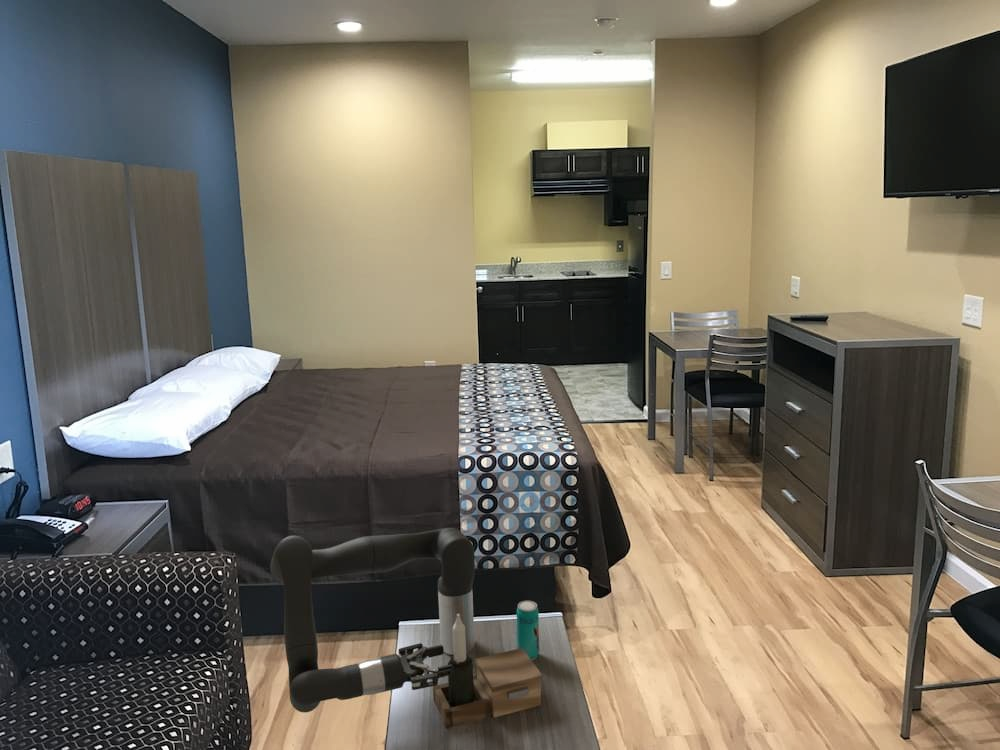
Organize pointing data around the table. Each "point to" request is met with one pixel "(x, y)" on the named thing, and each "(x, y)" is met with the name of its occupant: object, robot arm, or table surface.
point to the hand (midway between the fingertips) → (448, 658)
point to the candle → (460, 669)
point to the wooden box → (494, 689)
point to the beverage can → (528, 628)
